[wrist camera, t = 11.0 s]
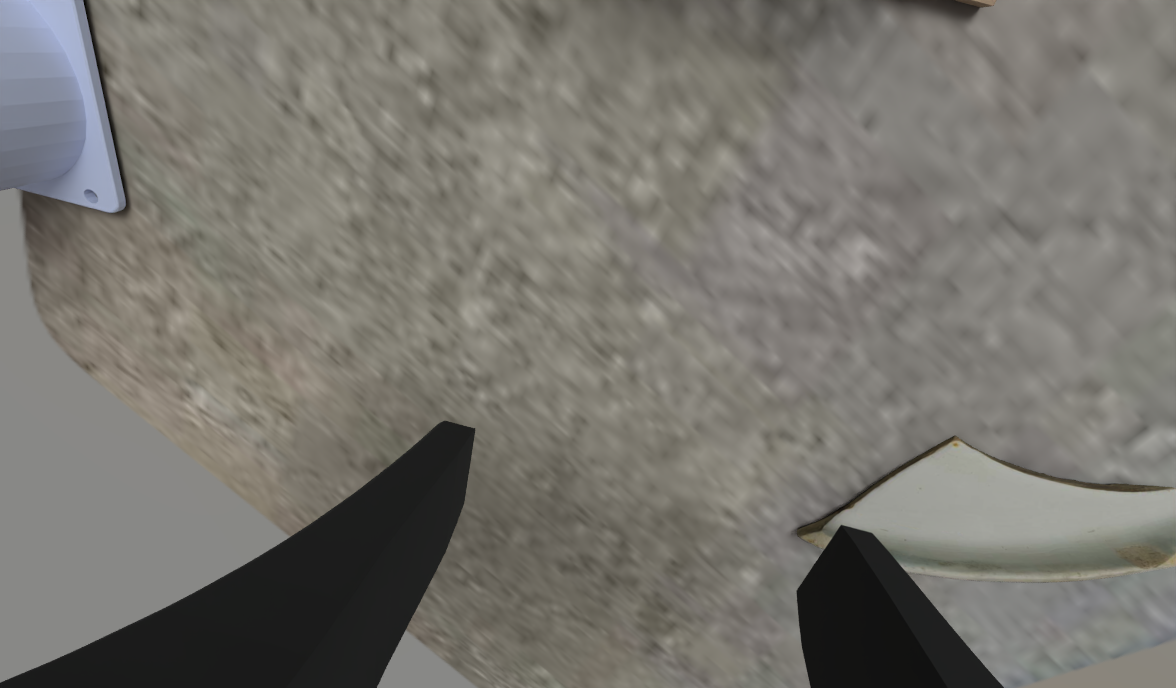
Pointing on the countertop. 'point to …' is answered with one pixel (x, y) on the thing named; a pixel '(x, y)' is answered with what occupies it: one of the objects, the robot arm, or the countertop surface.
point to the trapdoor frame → (979, 2)
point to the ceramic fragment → (1008, 521)
